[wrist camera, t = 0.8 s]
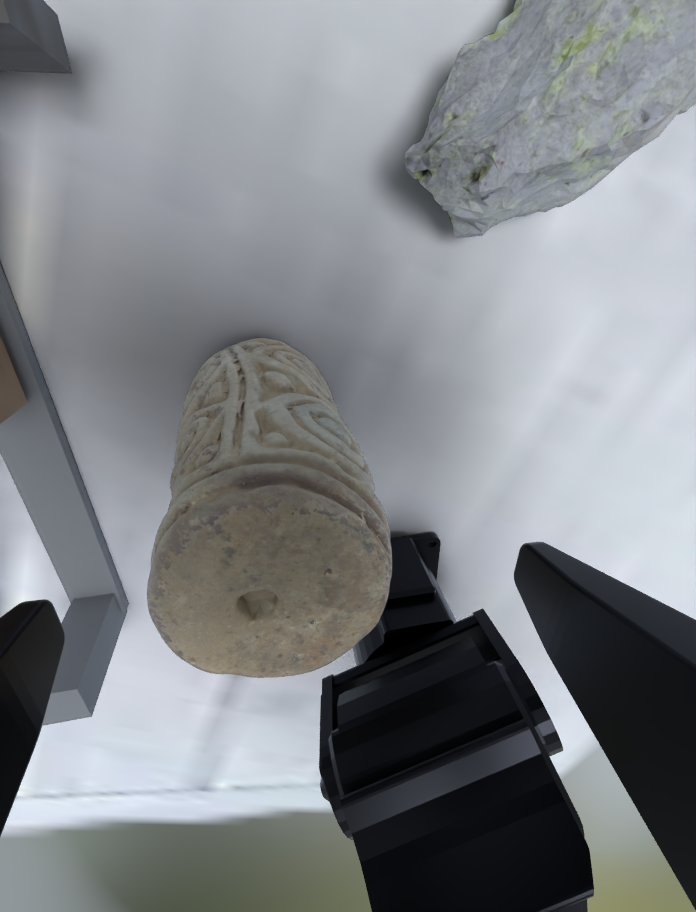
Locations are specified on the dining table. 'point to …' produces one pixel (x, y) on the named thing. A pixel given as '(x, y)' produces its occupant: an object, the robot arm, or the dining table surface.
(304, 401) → the carving
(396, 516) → the dining table surface
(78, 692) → the grey bracket bar
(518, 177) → the rock
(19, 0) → the brown boxy piece
